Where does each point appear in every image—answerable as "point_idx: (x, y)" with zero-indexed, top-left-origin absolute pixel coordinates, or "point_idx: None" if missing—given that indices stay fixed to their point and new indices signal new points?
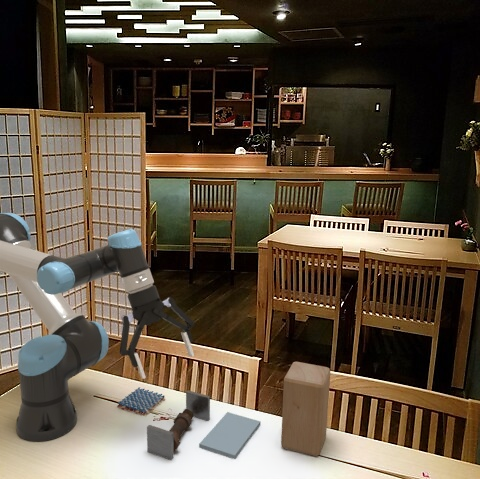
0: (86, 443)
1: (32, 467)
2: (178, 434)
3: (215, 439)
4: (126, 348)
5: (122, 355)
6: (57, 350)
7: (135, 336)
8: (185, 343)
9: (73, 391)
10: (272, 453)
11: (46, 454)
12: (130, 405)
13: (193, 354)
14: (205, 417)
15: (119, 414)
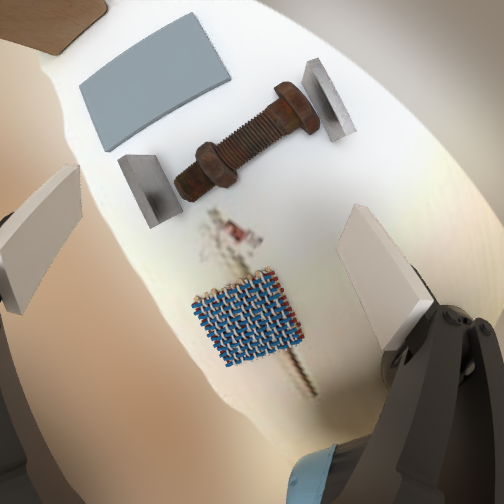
0: (420, 255)
1: (500, 250)
2: (263, 111)
3: (189, 71)
4: (482, 349)
5: (487, 321)
6: None
7: (448, 416)
8: (49, 241)
9: (336, 422)
10: (129, 5)
11: (475, 270)
12: (281, 319)
13: (65, 167)
14: (155, 161)
15: (314, 310)
